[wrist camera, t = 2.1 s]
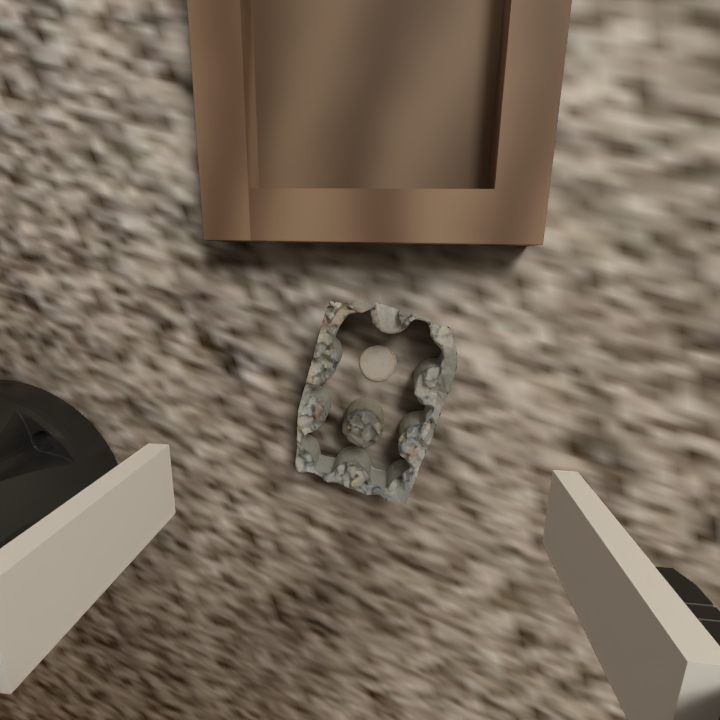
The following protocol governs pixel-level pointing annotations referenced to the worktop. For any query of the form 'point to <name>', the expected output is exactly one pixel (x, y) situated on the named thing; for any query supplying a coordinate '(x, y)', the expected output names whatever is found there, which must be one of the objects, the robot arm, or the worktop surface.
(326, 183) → the pocket board
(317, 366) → the egg carton
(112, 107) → the worktop surface
